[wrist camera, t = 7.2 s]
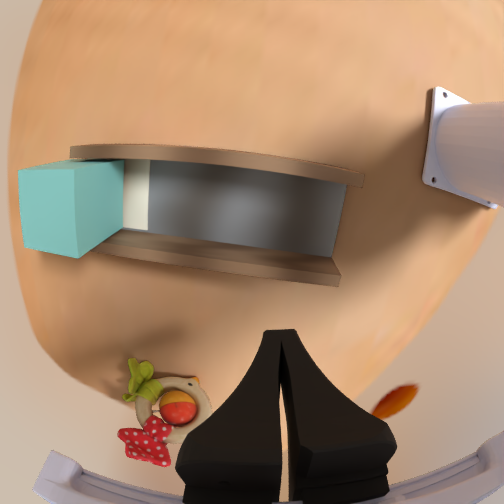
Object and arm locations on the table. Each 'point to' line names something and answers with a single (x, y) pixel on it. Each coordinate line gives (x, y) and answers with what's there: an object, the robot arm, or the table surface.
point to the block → (71, 204)
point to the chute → (227, 210)
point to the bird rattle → (161, 412)
